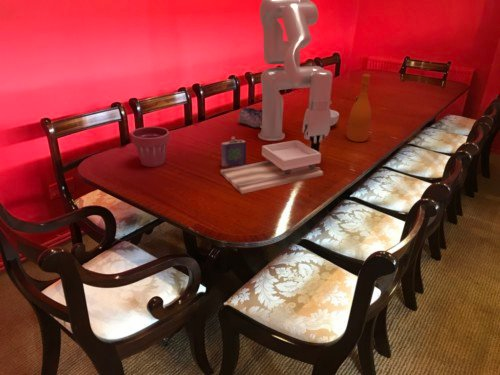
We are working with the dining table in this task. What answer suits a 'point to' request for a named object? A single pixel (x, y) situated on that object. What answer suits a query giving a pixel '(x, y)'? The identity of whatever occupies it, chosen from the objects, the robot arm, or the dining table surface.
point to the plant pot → (151, 145)
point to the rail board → (266, 176)
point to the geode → (250, 117)
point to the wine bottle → (360, 114)
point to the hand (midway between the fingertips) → (314, 151)
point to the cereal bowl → (334, 117)
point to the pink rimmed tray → (291, 155)
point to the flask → (233, 153)
